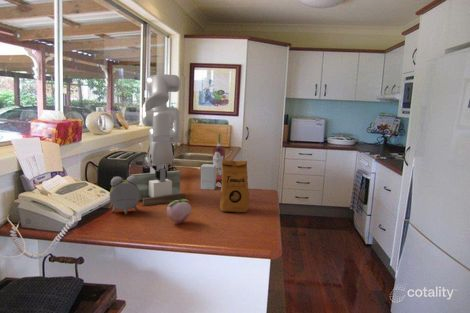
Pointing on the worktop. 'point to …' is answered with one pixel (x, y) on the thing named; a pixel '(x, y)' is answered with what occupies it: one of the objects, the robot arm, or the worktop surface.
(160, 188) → the white block gray post
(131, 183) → the alarm clock
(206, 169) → the supplement box
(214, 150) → the liquor
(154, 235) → the worktop surface
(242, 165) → the coffee package
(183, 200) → the decorative fruit
